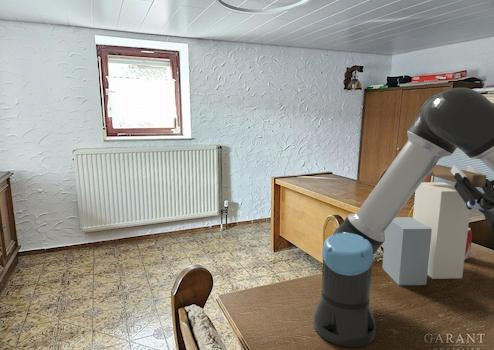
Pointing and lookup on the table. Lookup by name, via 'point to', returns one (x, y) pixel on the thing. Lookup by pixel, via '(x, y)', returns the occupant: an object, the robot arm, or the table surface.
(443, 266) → the tall cream rectangular block
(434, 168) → the brown wooden beam
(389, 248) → the tall pale gray pillar
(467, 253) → the soda can
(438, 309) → the table surface
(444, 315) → the table surface
